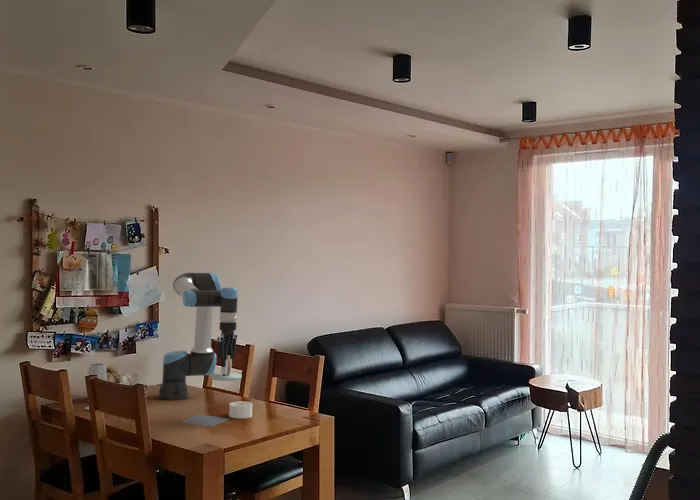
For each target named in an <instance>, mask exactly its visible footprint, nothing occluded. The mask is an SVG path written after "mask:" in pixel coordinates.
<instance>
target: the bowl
mask: <svg viewBox="0 0 700 500" xmlns="http://www.w3.org/2000/svg"><path fill="white" fill-rule="evenodd" d="M228 416H229V417H230V418H232V419H249V418H252V417H253V402H251V401H232V402H230V403H229V413H228Z"/></svg>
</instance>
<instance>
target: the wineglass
mask: <svg viewBox="0 0 700 500" xmlns="http://www.w3.org/2000/svg"><path fill="white" fill-rule="evenodd" d="M106 368H107V367H106V364H105V363H102V362H100V363H97V362H95V363H90V364H89V367H88V371H87V375H86V377H87V376H89V375H97V377H98V378H99V379H102V380H105V381H107V373H106ZM89 406H90V405H88V406H86V407H84V409H85V410H86V411H89Z"/></svg>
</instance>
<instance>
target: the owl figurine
mask: <svg viewBox="0 0 700 500" xmlns="http://www.w3.org/2000/svg"><path fill="white" fill-rule="evenodd" d="M106 373H107V381H109V382H114V383H119V384H120V382H121V373H120V372H119V370H118V367H116V365H115V366H114V365H111V364H110V365H107V367H106Z"/></svg>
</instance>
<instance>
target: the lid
mask: <svg viewBox="0 0 700 500" xmlns="http://www.w3.org/2000/svg"><path fill="white" fill-rule="evenodd" d="M226 360H228V361H227V374H221V372H215V373H212V374H211V375H209V376H210V377H209V379H211V380H212V381H222V382H230V381H233V382H234V381H239V380H242V374H241V373H235V372H231V373H230V355H227V358H226Z"/></svg>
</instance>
